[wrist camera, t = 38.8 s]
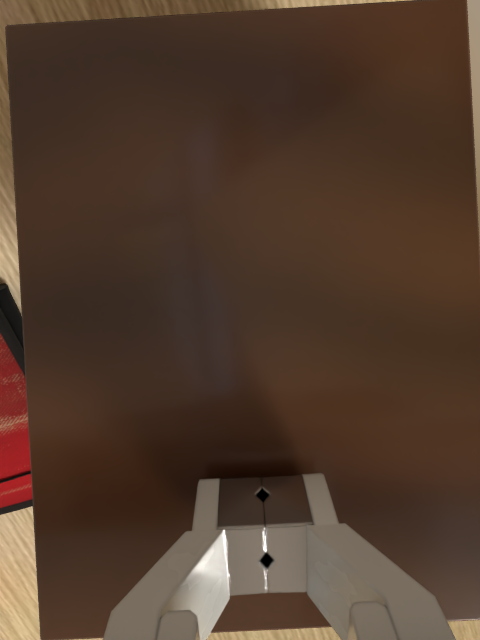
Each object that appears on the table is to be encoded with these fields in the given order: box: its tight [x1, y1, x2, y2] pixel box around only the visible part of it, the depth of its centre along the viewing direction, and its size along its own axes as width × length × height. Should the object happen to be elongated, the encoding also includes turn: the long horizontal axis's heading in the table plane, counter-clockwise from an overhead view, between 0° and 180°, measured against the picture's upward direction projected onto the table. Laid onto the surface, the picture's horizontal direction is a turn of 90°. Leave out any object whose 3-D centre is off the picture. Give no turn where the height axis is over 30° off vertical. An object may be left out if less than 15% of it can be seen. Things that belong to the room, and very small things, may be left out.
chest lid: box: [5, 0, 480, 640], centre depth 11 cm, size 16×12×1 cm
